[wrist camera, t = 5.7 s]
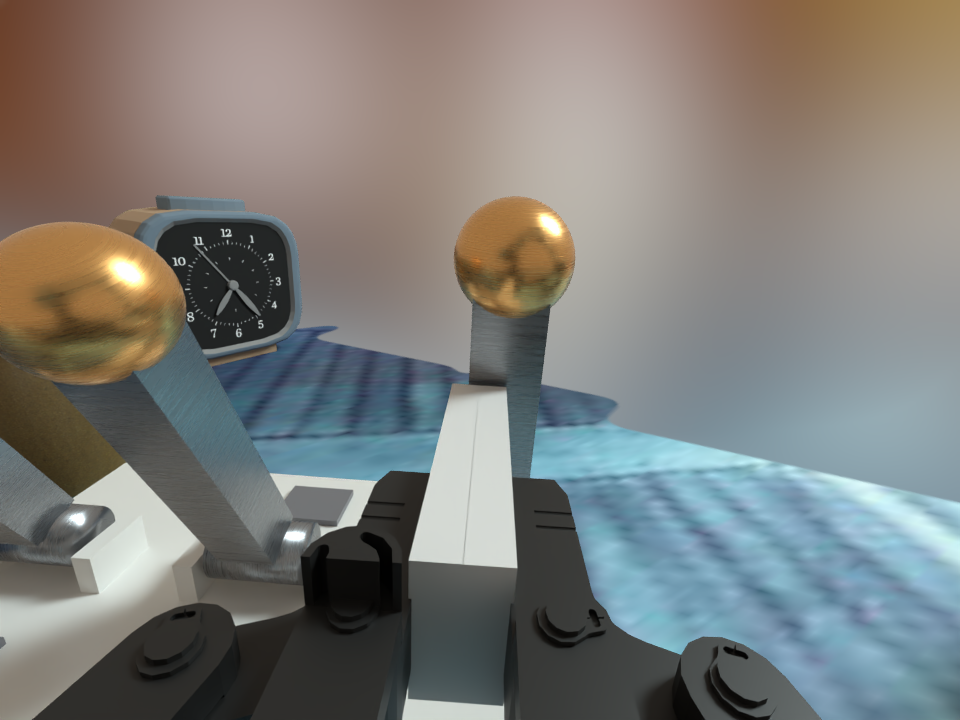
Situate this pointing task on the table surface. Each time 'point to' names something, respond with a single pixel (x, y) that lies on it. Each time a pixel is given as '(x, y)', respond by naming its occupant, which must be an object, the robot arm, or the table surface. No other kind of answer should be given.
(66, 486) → the plant pot
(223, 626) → the robot arm
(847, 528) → the table surface
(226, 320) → the alarm clock
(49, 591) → the switch box
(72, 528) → the lever
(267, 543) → the lever middle
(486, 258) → the lever
